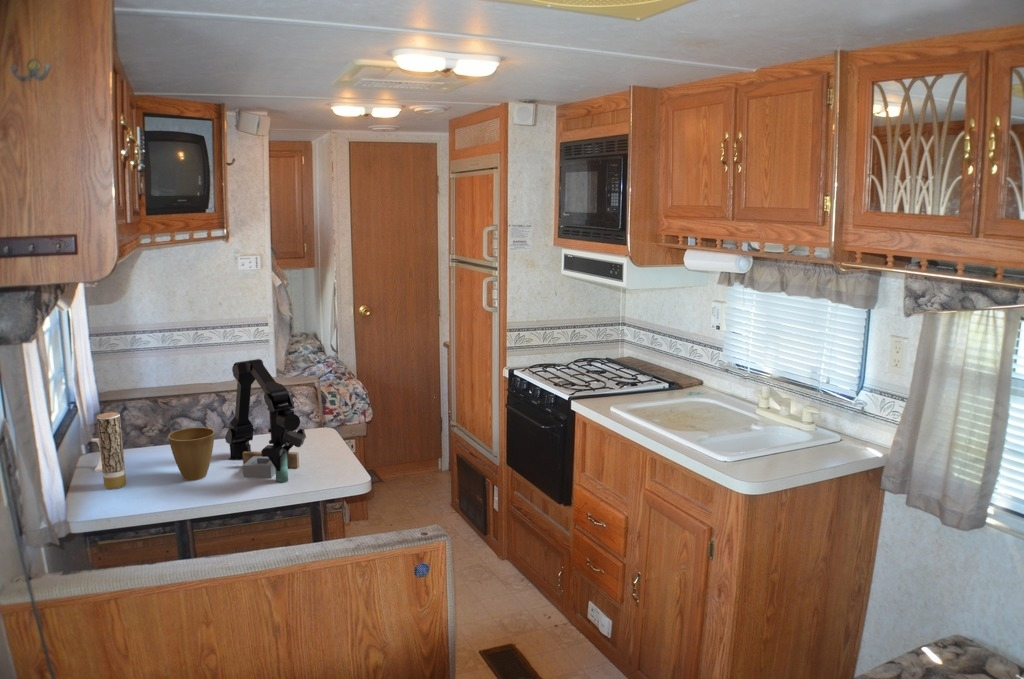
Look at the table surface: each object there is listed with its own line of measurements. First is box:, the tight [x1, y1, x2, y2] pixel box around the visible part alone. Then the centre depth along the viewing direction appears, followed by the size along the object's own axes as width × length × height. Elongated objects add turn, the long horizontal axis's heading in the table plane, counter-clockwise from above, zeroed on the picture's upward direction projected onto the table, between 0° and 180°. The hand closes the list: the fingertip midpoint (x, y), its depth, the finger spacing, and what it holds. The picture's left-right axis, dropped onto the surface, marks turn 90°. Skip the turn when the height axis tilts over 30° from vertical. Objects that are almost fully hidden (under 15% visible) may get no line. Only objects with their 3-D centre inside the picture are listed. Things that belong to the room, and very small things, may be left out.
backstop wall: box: [242, 451, 300, 470], centre depth 280 cm, size 20×2×6 cm, turn 86°
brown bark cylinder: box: [96, 411, 127, 490], centre depth 261 cm, size 7×7×25 cm
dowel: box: [275, 449, 289, 484], centre depth 266 cm, size 4×4×11 cm
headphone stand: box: [90, 438, 103, 473], centre depth 279 cm, size 5×6×12 cm
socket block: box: [241, 456, 276, 479], centre depth 275 cm, size 10×10×4 cm
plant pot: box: [167, 426, 215, 481], centre depth 270 cm, size 15×15×16 cm
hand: (281, 468), depth 266 cm, fingers open, 5 cm apart
